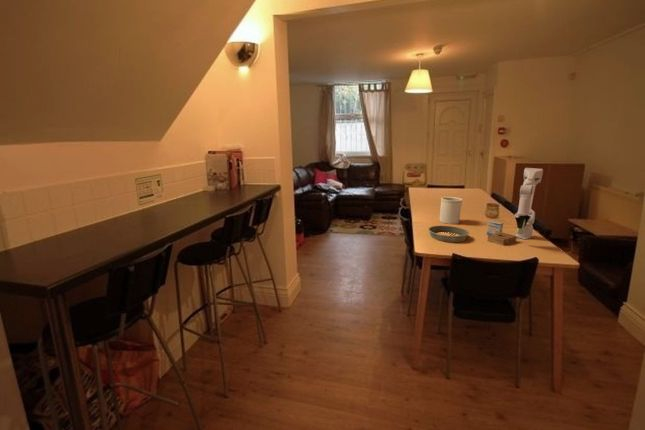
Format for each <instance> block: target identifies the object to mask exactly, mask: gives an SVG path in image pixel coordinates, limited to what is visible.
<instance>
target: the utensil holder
mask: <svg viewBox="0 0 645 430" xmlns="http://www.w3.org/2000/svg"><path fill="white" fill-rule="evenodd" d="M463 200H464V199H462V198H460V197H455V196H442V197H440V209H439V222H440V223H443V224H448V225H449V224H450V225H458V224H459V223H460V218H461V212H462V211H461V210H462V205H463V204H462V203H463V202H464V201H463Z"/></svg>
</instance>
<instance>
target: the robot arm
mask: <svg viewBox="0 0 645 430" xmlns="http://www.w3.org/2000/svg"><path fill="white" fill-rule="evenodd" d="M543 173H544V169H543V168H534V167H533V168H532V167H525V168H524V170H523V183H522V185H520V189H519V201H518V202H519V203H518V209H517V212H515V213H514V219H515V222H516V227H517V229H516V234H513V235H514V236H517V238H519V239H523V240H528V239H531V237H532V238H534V236H533V231H534V226H533V224H534V223H535V219H536V211H534V210H533V209H532V206H533V201H534V195H535V191H536V186H537V185H538V184H541V182H542V177H543ZM524 221H525V225H524V232H523V234H518V228H520V229H521V228H522V226H523V223H524Z"/></svg>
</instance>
